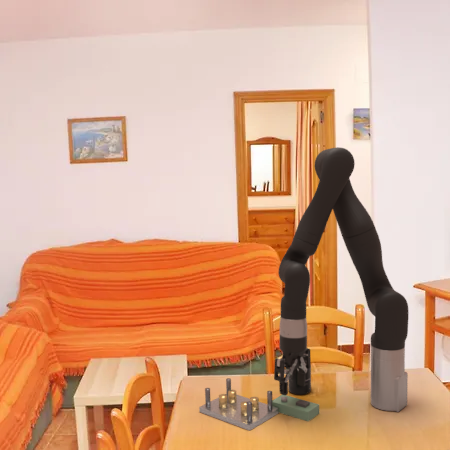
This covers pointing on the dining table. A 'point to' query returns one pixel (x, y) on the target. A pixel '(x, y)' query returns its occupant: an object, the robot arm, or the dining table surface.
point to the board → (296, 407)
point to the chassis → (239, 408)
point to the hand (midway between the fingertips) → (292, 389)
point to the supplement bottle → (297, 388)
